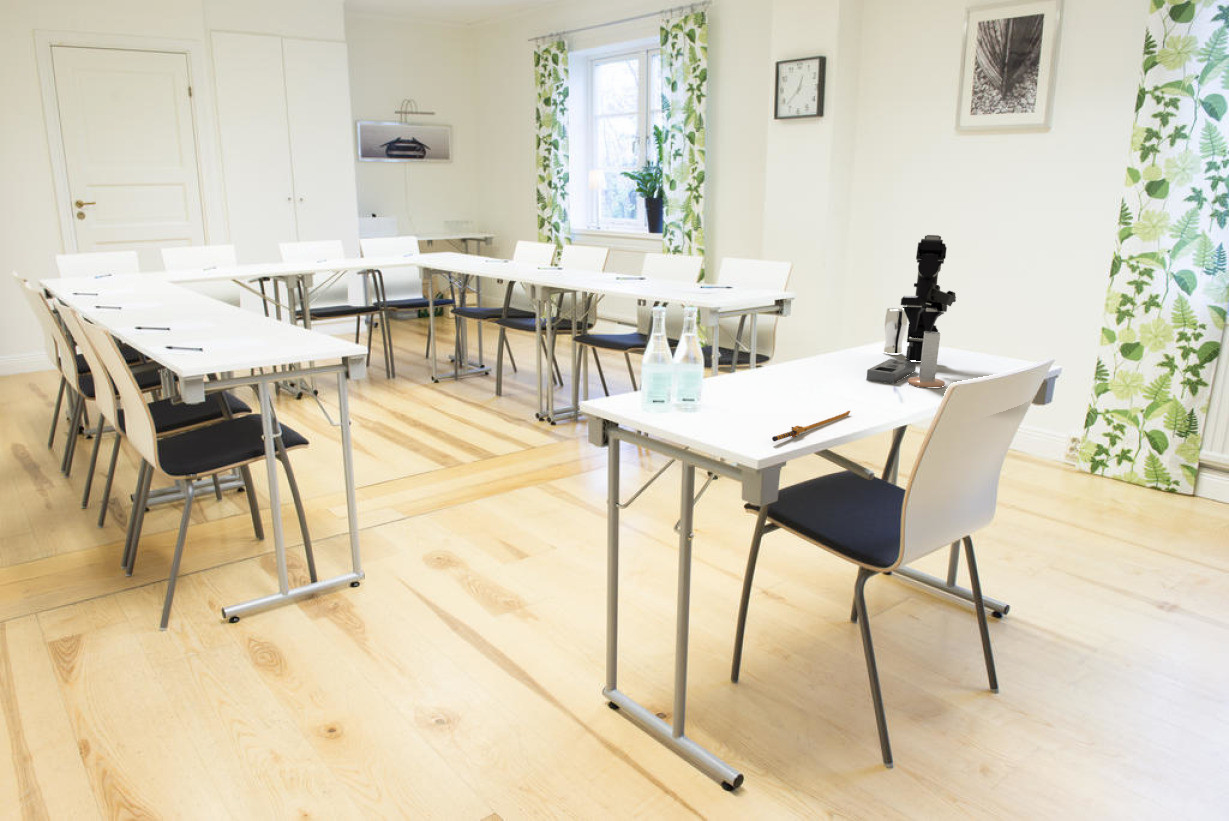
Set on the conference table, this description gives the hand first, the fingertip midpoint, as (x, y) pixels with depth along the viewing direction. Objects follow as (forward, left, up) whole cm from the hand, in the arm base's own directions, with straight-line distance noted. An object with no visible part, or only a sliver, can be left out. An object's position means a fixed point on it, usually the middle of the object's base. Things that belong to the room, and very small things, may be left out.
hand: (921, 332), depth 259 cm
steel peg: (+4, +16, -11) cm, 20 cm away
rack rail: (+10, +6, -12) cm, 17 cm away
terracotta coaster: (+4, +16, -12) cm, 21 cm away
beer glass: (-3, -28, -12) cm, 30 cm away
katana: (+50, +61, -13) cm, 80 cm away
